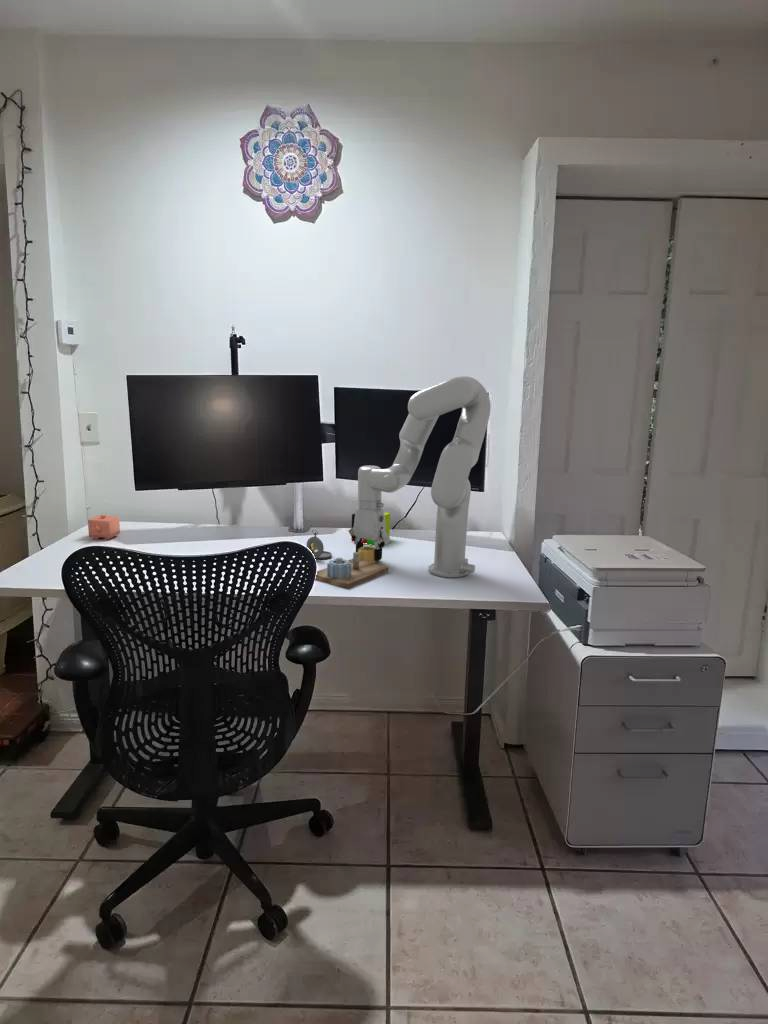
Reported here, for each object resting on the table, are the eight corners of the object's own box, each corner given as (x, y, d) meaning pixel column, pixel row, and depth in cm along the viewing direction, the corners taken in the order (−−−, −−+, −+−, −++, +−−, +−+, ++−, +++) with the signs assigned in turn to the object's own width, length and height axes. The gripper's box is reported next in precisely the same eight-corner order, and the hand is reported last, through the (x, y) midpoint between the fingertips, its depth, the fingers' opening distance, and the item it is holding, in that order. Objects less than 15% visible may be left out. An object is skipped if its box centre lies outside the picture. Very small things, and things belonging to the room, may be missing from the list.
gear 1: (355, 574, 196) (355, 561, 195) (340, 580, 190) (340, 567, 189) (337, 569, 200) (337, 556, 199) (322, 575, 194) (322, 562, 193)
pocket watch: (332, 554, 220) (332, 525, 218) (330, 561, 212) (330, 531, 210) (308, 553, 220) (308, 524, 218) (305, 561, 212) (305, 531, 209)
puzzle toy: (366, 535, 245) (366, 509, 242) (389, 539, 240) (390, 513, 237) (351, 541, 236) (351, 514, 234) (374, 546, 231) (375, 518, 229)
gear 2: (383, 559, 215) (383, 548, 214) (370, 564, 209) (370, 552, 208) (366, 555, 219) (366, 544, 218) (353, 560, 213) (354, 548, 212)
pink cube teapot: (84, 542, 225) (82, 518, 223) (102, 533, 236) (100, 510, 234) (105, 543, 224) (104, 520, 222) (123, 534, 235) (121, 512, 234)
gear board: (388, 572, 203) (389, 552, 202) (347, 588, 188) (348, 567, 186) (353, 562, 211) (353, 543, 210) (311, 578, 196) (311, 557, 194)
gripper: (398, 506, 208) (397, 560, 212) (355, 499, 218) (355, 550, 222) (384, 510, 202) (383, 565, 206) (341, 502, 212) (340, 555, 216)
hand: (368, 557), depth 214 cm, fingers closed on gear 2, 6 cm apart
